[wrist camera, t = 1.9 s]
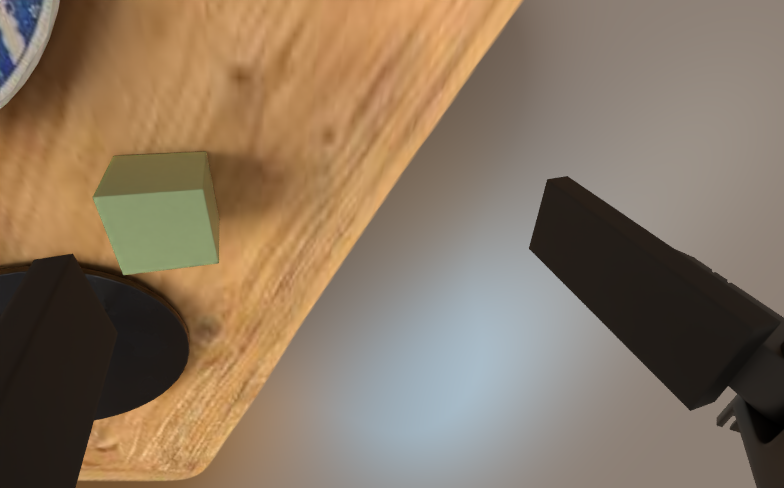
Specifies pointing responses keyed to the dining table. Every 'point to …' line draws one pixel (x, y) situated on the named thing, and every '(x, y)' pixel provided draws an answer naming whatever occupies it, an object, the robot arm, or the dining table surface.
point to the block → (159, 211)
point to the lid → (129, 339)
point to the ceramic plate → (22, 41)
